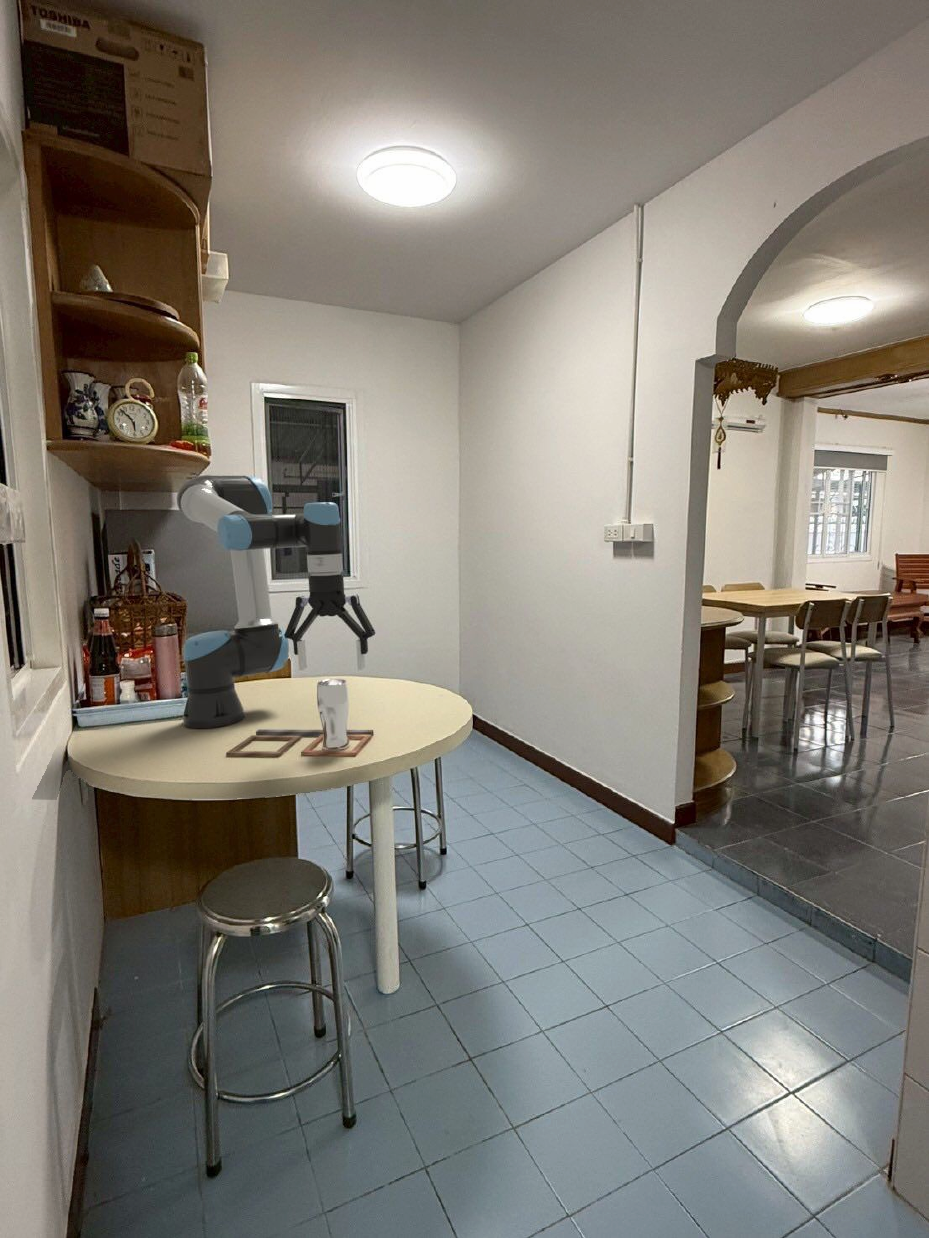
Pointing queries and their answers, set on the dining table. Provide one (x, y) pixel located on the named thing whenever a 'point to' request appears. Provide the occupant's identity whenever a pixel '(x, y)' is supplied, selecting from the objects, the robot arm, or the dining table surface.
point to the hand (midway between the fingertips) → (332, 668)
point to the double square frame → (296, 736)
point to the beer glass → (333, 713)
